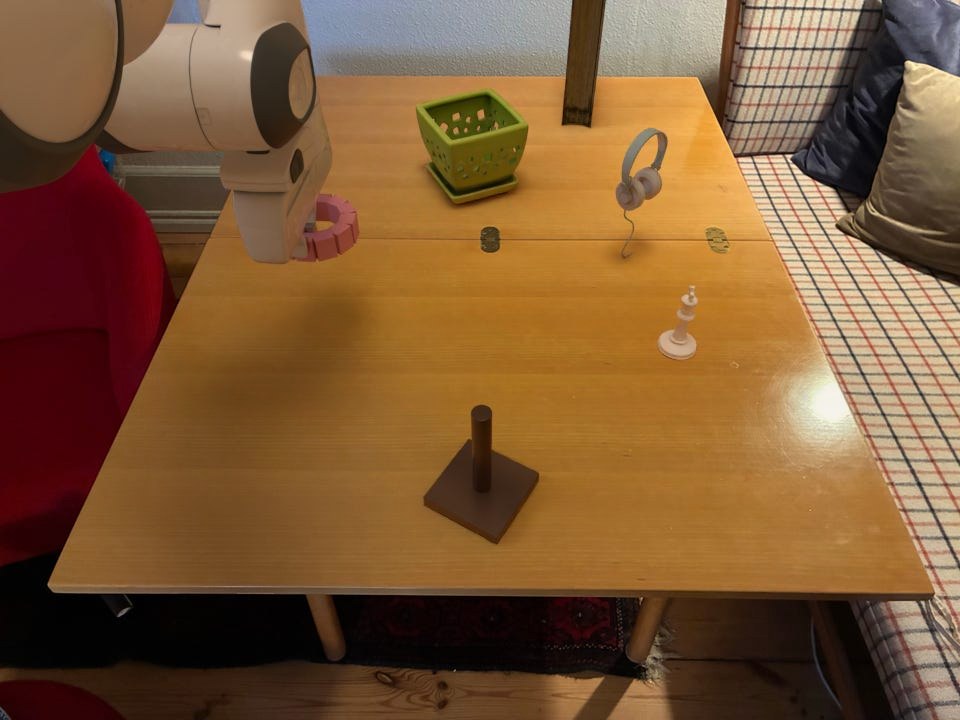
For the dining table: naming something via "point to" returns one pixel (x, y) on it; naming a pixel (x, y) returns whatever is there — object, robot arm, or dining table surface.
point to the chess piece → (680, 331)
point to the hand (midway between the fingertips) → (305, 245)
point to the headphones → (640, 175)
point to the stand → (481, 483)
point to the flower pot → (473, 144)
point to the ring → (332, 229)
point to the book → (582, 60)
